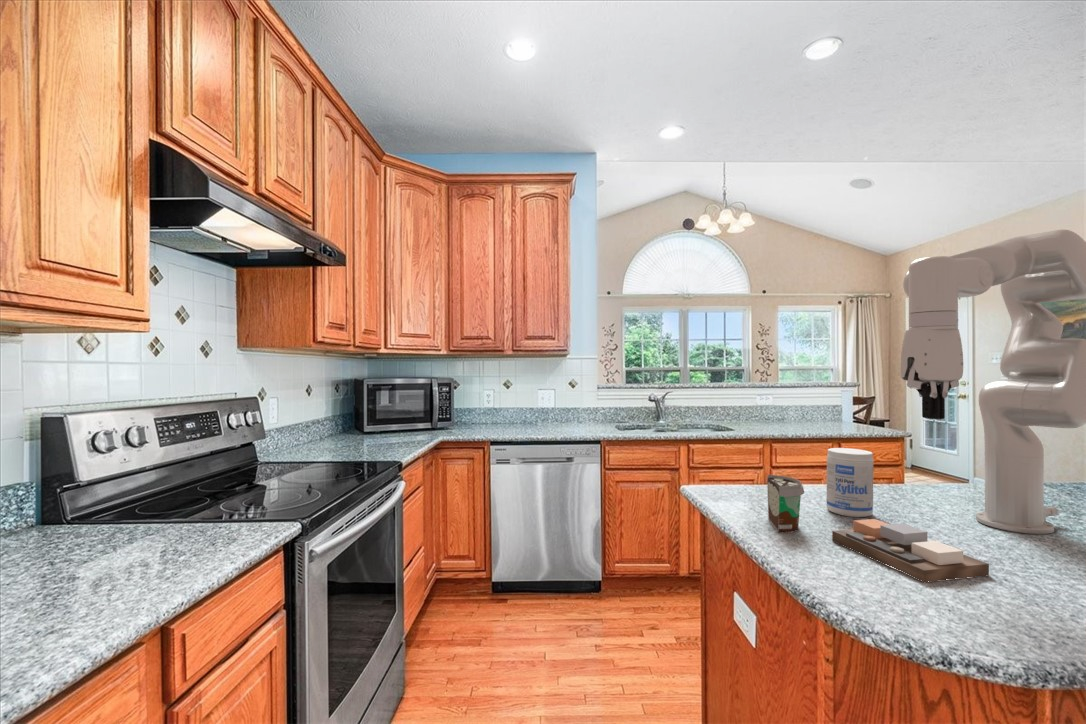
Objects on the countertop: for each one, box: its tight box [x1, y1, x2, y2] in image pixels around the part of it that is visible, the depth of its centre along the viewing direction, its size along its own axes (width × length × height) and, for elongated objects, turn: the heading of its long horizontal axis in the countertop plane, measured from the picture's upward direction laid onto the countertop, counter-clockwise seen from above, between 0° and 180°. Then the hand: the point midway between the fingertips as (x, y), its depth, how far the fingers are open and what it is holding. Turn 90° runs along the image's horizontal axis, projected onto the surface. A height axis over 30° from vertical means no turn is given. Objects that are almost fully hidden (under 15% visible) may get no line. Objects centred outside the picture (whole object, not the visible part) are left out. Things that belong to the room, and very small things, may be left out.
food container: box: [766, 474, 805, 534], centre depth 113 cm, size 12×6×10 cm, turn 168°
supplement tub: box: [825, 447, 874, 518], centre depth 123 cm, size 10×10×15 cm
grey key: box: [880, 522, 928, 545], centre depth 95 cm, size 5×5×2 cm
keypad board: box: [831, 528, 990, 583], centre depth 95 cm, size 13×20×3 cm, turn 11°
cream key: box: [912, 540, 964, 565], centre depth 88 cm, size 5×5×2 cm
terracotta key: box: [852, 518, 891, 539], centre depth 101 cm, size 5×5×2 cm
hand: (933, 418), depth 99 cm, fingers closed
